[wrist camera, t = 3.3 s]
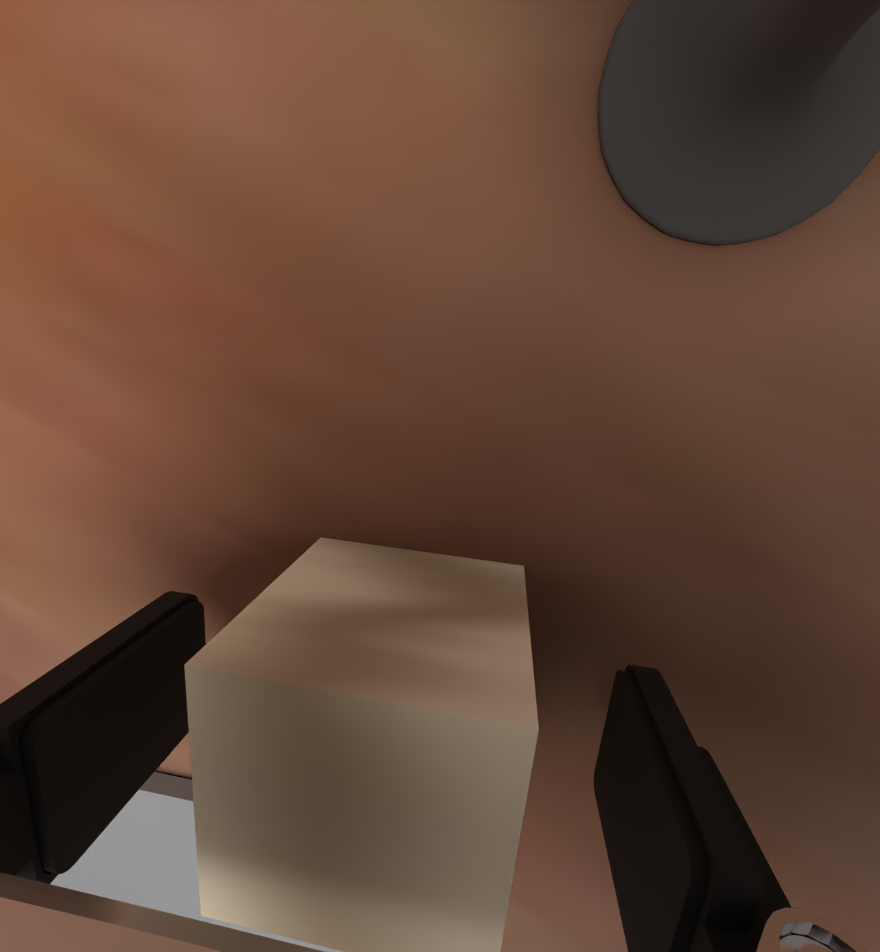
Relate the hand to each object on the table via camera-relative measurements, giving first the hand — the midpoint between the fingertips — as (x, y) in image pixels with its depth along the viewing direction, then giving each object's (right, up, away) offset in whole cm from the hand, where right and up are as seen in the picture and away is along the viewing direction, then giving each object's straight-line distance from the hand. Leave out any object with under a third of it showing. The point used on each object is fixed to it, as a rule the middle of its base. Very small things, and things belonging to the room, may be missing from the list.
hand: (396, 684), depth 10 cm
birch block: (0, 0, +2) cm, 2 cm away
